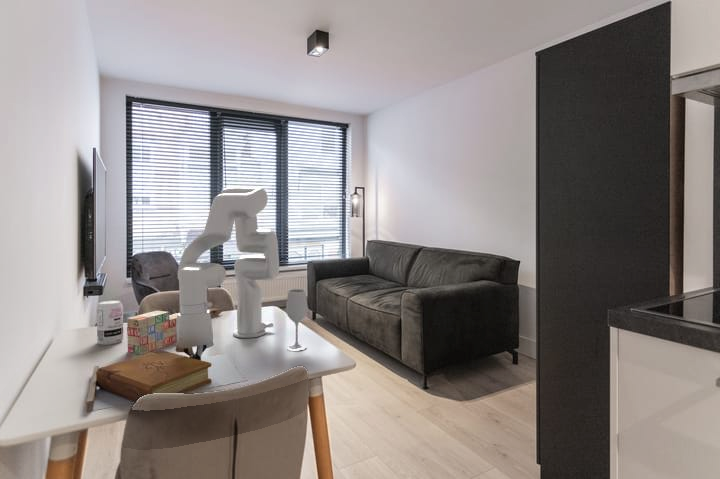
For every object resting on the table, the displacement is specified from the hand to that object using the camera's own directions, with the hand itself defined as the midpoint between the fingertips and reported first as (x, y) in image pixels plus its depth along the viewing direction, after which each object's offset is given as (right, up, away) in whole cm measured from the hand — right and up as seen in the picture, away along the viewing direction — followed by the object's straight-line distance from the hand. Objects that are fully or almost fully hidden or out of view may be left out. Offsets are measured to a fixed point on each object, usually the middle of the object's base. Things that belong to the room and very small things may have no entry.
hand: (195, 367), depth 120 cm
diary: (-7, -2, -10) cm, 12 cm away
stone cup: (-26, +2, +69) cm, 73 cm away
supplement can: (-43, 0, +28) cm, 52 cm away
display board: (-6, -2, -4) cm, 7 cm away
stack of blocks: (-24, 0, +26) cm, 35 cm away
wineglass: (+27, -1, +23) cm, 36 cm away
